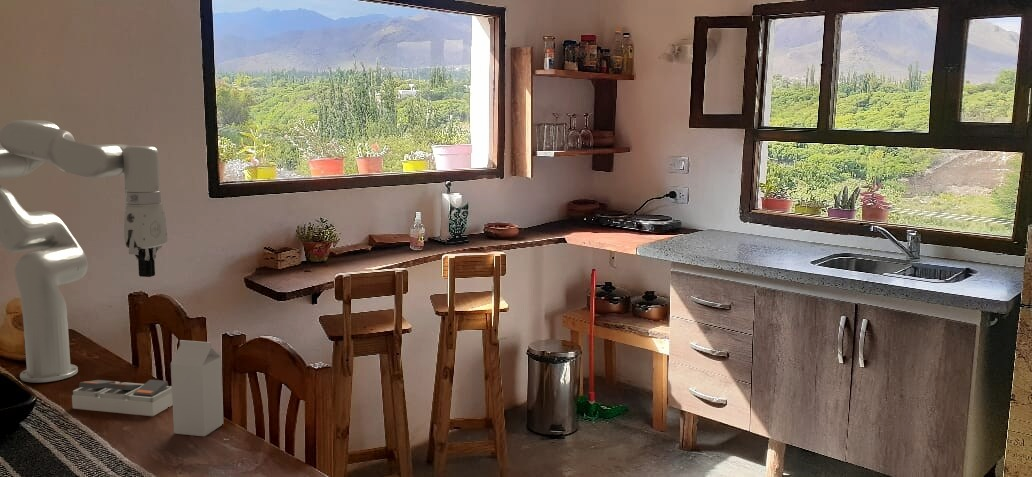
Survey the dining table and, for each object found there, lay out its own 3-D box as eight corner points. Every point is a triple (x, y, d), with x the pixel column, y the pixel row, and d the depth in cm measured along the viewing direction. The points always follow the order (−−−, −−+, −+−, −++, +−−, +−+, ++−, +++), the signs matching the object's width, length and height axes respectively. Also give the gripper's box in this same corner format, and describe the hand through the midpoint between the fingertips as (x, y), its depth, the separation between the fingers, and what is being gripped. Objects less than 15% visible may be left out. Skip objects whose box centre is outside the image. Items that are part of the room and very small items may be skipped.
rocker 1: (79, 387, 183) (79, 381, 183) (97, 384, 189) (98, 379, 189) (96, 388, 182) (96, 383, 182) (114, 385, 188) (115, 380, 188)
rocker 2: (106, 388, 182) (106, 383, 182) (123, 387, 187) (124, 382, 188) (123, 389, 181) (124, 384, 181) (140, 389, 187) (141, 384, 187)
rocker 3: (134, 397, 181) (133, 392, 180) (150, 383, 186) (149, 379, 186) (152, 398, 180) (151, 394, 179) (168, 384, 185) (167, 380, 185)
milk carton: (204, 437, 168) (201, 347, 165) (173, 434, 169) (169, 344, 166) (223, 424, 175) (220, 338, 172) (193, 421, 176) (189, 335, 173)
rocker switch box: (72, 408, 183) (71, 391, 182) (98, 396, 191) (97, 379, 190) (153, 416, 179) (152, 398, 178) (176, 403, 187) (175, 386, 186)
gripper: (136, 202, 184) (140, 283, 187) (176, 196, 198) (180, 271, 201) (107, 201, 185) (111, 281, 188) (149, 195, 200) (152, 269, 202)
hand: (147, 276), depth 195 cm, fingers closed
